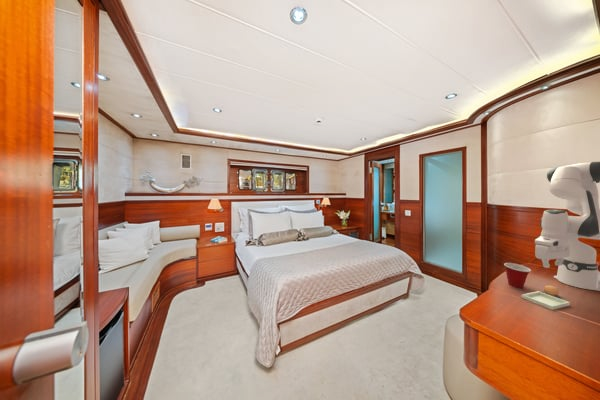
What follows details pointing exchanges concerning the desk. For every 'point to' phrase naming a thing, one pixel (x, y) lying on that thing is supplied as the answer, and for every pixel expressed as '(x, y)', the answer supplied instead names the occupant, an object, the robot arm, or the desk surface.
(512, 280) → the plastic cup
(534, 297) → the tray
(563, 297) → the coaster
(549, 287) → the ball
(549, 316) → the desk surface
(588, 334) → the desk surface
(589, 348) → the desk surface
